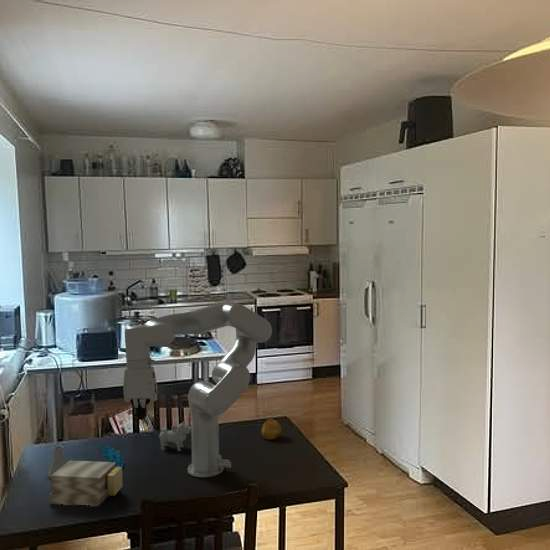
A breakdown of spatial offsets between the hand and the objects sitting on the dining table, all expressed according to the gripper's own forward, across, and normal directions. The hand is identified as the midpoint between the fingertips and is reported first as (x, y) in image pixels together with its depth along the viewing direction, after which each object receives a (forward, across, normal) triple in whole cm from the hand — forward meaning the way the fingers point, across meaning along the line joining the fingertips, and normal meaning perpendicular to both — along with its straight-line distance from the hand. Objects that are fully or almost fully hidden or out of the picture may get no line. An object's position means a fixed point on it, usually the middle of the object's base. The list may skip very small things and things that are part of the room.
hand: (141, 418), depth 176 cm
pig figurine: (+24, -1, -34) cm, 41 cm away
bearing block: (+22, +18, +6) cm, 29 cm away
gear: (+23, +17, -16) cm, 33 cm away
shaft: (+21, +17, +6) cm, 27 cm away
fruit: (+26, -38, -47) cm, 65 cm away
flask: (+23, +33, -7) cm, 41 cm away
